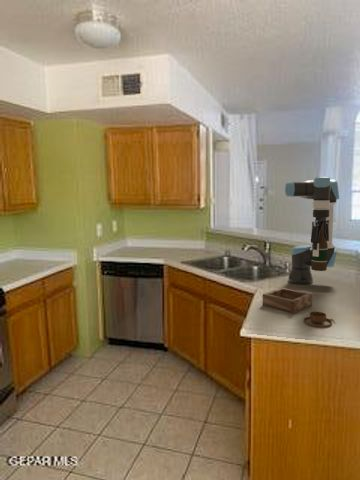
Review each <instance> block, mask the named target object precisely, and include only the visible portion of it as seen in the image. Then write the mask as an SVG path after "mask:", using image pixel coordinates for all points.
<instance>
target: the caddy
mask: <svg viewBox="0 0 360 480" xmlns="http://www.w3.org/2000/svg"><path fill="white" fill-rule="evenodd" d="M290 303H295V309H293V312H294V313H293V314H296V313H298V312H300V311H302V310H304V309H306V308H309V307H311V306H313V293H309V292H304V291H300V290H295V289H291V288H286V287H279V288H277V289H274V290H270V291H267V292H265V293H262V306H263V307H267V308H271V309H275V310H280V311H282V312H287V313H291V311H292V309H290ZM291 314H292V313H291Z"/></svg>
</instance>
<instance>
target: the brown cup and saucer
mask: <svg viewBox="0 0 360 480" xmlns="http://www.w3.org/2000/svg"><path fill="white" fill-rule="evenodd" d="M290 309H292V311H291V316H292V315H294V314H295V313H294V312H293V309H295V303H290ZM294 320H297V318H294ZM308 320H309V321H310V322H312V323H310V322H307V321H308ZM303 322H304V324H306V325H307V326H309V327H313V328H321V329H324V328H328V327H331V326H332V324H333V323H334V324H337V323H336V322H335V319H333V318H327V314H326V313H324V312H322V311H310V312H309V315H308V316H305V317H304V318H303ZM326 322H327V323H329V324H324V323H326Z"/></svg>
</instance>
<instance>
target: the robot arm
mask: <svg viewBox="0 0 360 480" xmlns="http://www.w3.org/2000/svg"><path fill="white" fill-rule="evenodd" d="M284 187H285V189H284V194H285V196H286V197H291V198H292V197H298V198H302V199H306V200H313V202H312V208H313V210H312V217H313V218H315V220H314V221H312V222H311V236H310V244H309V245H308V244H305V245H304V244H303V245H297V246H293V248H292V249H291V269H290V271H289V274H288V279H287V280H288V282H289V283H291V284H296V285H311V284H312V283H314V278H313V274H312V271H311V259H312V245H311V244H313V256H316V257H319V243H318V241H319V236H320V232H321V230H322V227H323V225H324V237H325V239H326V241H327V244H328V252H327V268H333V267H334V266H335V263H336V259H337V253H338V249H337V248H335V247H336V246H335V244H333V230H334V224H333V223H334V206H335V204H337V200H339V199H340V193H339V182H338V180H336V179H331V177H329V176H319V177H318V176H317V177H315V178H314V179H309V180H304V181H287V182H285V186H284Z"/></svg>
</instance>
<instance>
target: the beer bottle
mask: <svg viewBox="0 0 360 480" xmlns="http://www.w3.org/2000/svg"><path fill="white" fill-rule="evenodd" d="M318 243H319V257H316V256H313V243H311V244H312V245H311V248H312V259H311V266H310V270H312V271H315V272H326V271H327V268H328V267H327V252H328V244H327V241H326V239H325V237H324V225H323V227H322V230H321V232H320V236H319V241H318Z"/></svg>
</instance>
